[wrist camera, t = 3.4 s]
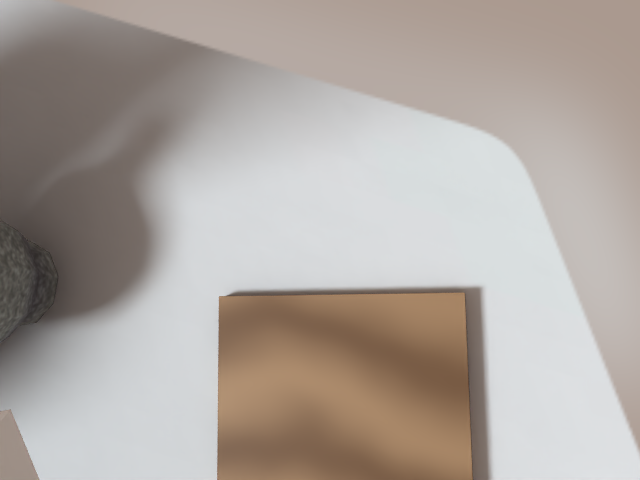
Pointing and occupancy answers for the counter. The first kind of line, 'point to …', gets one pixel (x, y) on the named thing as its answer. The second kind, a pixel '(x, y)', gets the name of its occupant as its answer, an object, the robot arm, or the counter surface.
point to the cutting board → (343, 387)
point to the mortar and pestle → (23, 281)
